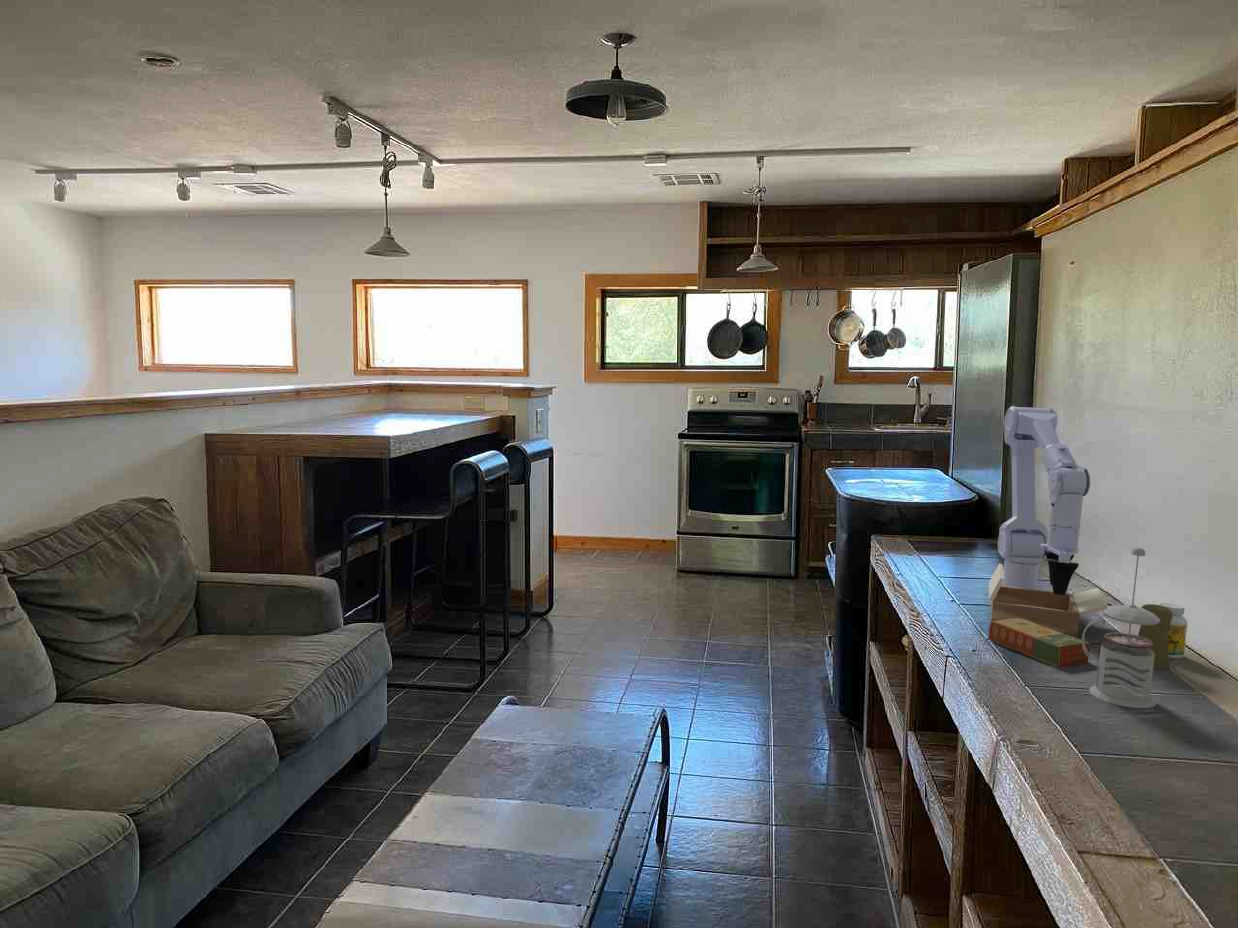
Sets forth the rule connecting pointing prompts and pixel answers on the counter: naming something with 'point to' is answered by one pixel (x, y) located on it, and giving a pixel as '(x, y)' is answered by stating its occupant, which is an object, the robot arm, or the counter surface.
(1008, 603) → the kraft box
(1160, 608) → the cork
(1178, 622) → the supplement bottle
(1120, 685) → the french press
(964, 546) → the counter surface
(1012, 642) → the carton
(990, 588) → the flap
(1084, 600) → the flap
